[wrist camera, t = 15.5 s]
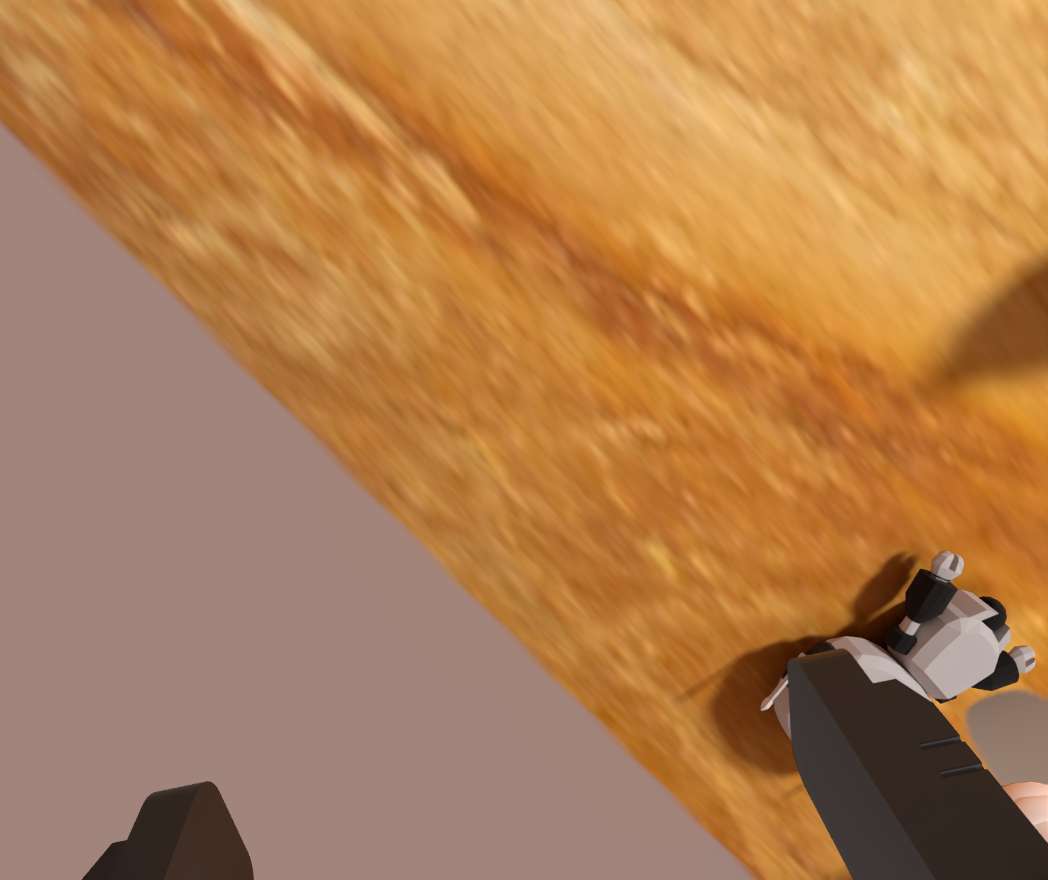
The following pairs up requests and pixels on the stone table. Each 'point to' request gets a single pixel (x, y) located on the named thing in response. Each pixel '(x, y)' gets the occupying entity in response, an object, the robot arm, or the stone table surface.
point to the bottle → (1032, 803)
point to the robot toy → (933, 643)
